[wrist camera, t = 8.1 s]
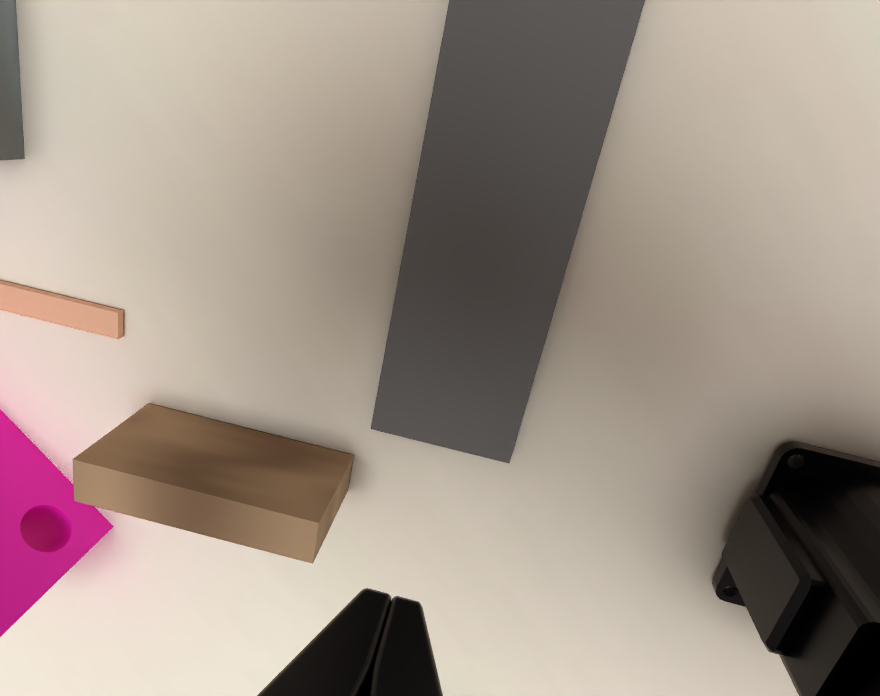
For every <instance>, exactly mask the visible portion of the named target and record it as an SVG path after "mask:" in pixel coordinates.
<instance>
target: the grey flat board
mask: <svg viewBox="0 0 880 696" xmlns="http://www.w3.org/2000/svg"><path fill="white" fill-rule="evenodd" d="M644 1H645V0H449V5H448V11H447V16H446V22H445V27H444V33H443V38H442V43H441V49H440V54H439V60H438V65H437V71H436V76H435V82H434V87H433V93H432V98H431V103H430V109H429V114H428V120H427V125H426V131H425V136H424V142H423V147H422V152H421V158H420V163H419V169H418V174H417V180H416V185H415V191H414V196H413V202H412V207H411V212H410V218H409V223H408V229H407V234H406V240H405V245H404V251H403V256H402V261H401V267H400V272H399V278H398V283H397V289H396V294H395V300H394V305H393V310H392V316H391V321H390V327H389V332H388V338H387V343H386V349H385V354H384V360H383V365H382V370H381V376H380V381H379V387H378V392H377V398H376V403H375V409H374V414H373V419H372V425H371V429H373V430H377V431H381V432H385V433H389V434H393V435H397V436H401V437H405V438H409V439H413V440H417V441H421V442H426V443H430V444H434V445H438V446H442V447H446V448H450V449H454V450H458V451H462V452H466V453H470V454H474V455H478V456H482V457H486V458H490V459H494V460H498V461H502V462H506V463H509V462H510V459H511V456H512V452H513V449H514V445H515V442H516V439H517V435H518V432H519V428H520V425H521V421H522V418H523V415H524V411H525V408H526V404H527V401H528V398H529V394H530V391H531V387H532V384H533V381H534V377H535V374H536V370H537V367H538V363H539V360H540V357H541V353H542V350H543V346H544V343H545V340H546V336H547V333H548V329H549V326H550V322H551V319H552V316H553V312H554V309H555V305H556V302H557V299H558V295H559V292H560V288H561V285H562V281H563V278H564V275H565V271H566V268H567V264H568V261H569V258H570V254H571V251H572V247H573V244H574V240H575V237H576V234H577V230H578V227H579V223H580V220H581V217H582V213H583V210H584V206H585V203H586V200H587V196H588V193H589V189H590V186H591V182H592V179H593V176H594V172H595V169H596V165H597V162H598V159H599V155H600V152H601V148H602V145H603V141H604V138H605V135H606V131H607V128H608V124H609V121H610V118H611V114H612V111H613V107H614V104H615V100H616V97H617V94H618V90H619V87H620V83H621V80H622V77H623V73H624V70H625V66H626V63H627V59H628V56H629V53H630V49H631V46H632V42H633V39H634V36H635V32H636V29H637V25H638V22H639V19H640V15H641V12H642V8H643V5H644Z"/></svg>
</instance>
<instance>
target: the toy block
mask: <svg viewBox="0 0 880 696" xmlns="http://www.w3.org/2000/svg"><path fill="white" fill-rule="evenodd" d="M112 527H113V526H112V525H111V524H110V523H109V522H108V521H107V519H106V518H105V517H104V516H103V515H102V514H101V513H100V512H99V511H98V510H97V509H96V508H95V507H94V506H92V505H88V504H84V503H80V502H76V501H74V485H73V484H72V483H71V482H70V481H69V480H68V479H67V478H66V477H65V476H64V475H63V474H62V473H61V472H60V471H59V470H58V469H57V468H56V467H55V466H54V465H53V463H52V462H51V461H50V460H49V459H48V458H47V457H46V456H45V455H44V454H43V453H42V452H41V451H40V450H39V449H38V448H37V447H36V446H35V445H34V444H33V443H32V442H31V441H30V440H29V439H28V438H27V437H26V436H25V434H24V433H23V432H22V431H21V430H20V429H19V428H18V427H17V426H16V425H15V424H14V423H13V422H12V421H11V420H10V419H9V418H8V417H7V416H6V415H5V414H4V413H3V412H2V411H1V410H0V637H1V636H2V635H3V634H4V633H5V632H6V631H7V630H8V629H9V628H10V627H11V626H12V625H13V624H14V623H15V622H16V621H17V620H18V619H19V618H20V617H21V616H22V615H23V614H24V613H25V612H26V611H27V610H28V609H29V608H30V607H31V606H32V605H33V604H35V603H36V602H37V601H38V600H39V599H40V598H41V597H42V596H43V595H44V594H45V593H46V592H47V591H48V590H49V589H50V588H51V587H52V586H53V585H54V584H55V583H56V582H57V581H58V580H59V579H60V578H61V577H62V576H63V575H64V574H65V573H66V572H67V571H68V570H69V569H70V568H71V567H72V566H73V565H74V564H76V563H77V562H78V561H79V560H80V559H81V558H82V557H83V556H84V555H85V554H86V553H87V552H88V551H89V550H90V549H91V548H92V547H93V546H94V545H95V544H96V543H97V542H98V541H99V540H100V539H101V538H102V537H103V536H104V535H105V534H106V533H107V532H108V531H109V530H110V529H111V528H112Z"/></svg>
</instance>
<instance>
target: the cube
mask: <svg viewBox="0 0 880 696" xmlns="http://www.w3.org/2000/svg"><path fill="white" fill-rule="evenodd" d="M13 159H25V157H24V139H23V121H22V103H21V86H20V68H19V50H18V32H17V15H16V0H0V160H13Z"/></svg>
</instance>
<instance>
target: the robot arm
mask: <svg viewBox="0 0 880 696" xmlns="http://www.w3.org/2000/svg"><path fill="white" fill-rule="evenodd" d="M793 455H799V457H798V459H797V460H795V461H793V462H788V459H789V458H790V457H791V456H793ZM722 556H723V560H722V562H721V564H720V566H719V568H718V570H717V572H716V574H715V576H714V578H713V582H712V585H713V588H714V590H715V593H716V595H717V596H718V597H719V598H720V599H721V600H723V601H726V602H730V603H734V604H737V605H741V606H745V607H747V609H748V612H749V614H750V616H751V618H752V620H753V622H754V624H755V626H756V629H757V631H758V633H759V635H760V637H761V639H762V641H763V643H764V645H765V646H766V648H767V650H768V651H769V652H771V653H775V654H779V655H780V657H781V659H782V661H783V664H784V666H785V668H786V670H787V672H788V674H789V676H790V678H791V680H792V682H793V684H794V686H795V688H796V690H797V692H798V694H799V696H880V462H877V461H873V460H869V459H865V458H861V457H857V456H852V455H848V454H844V453H840V452H836V451H832V450H828V449H823V448H819V447H815V446H811V445H807V444H803V443H799V442H788V443H784V444H783V445H781V446H780V447H779V448H778V449H777V450H776V452H775V454H774V456H773V458H772V460H771V462H770V464H769V466H768V468H767V470H766V472H765V474H764V476H763V478H762V480H761V482H760V484H759V486H758V489H757V491H756V493H755V494H754V495H753V496H751V497H750V498H749V499H748V501H747V503H746V505H745V507H744V509H743V511H742V513H741V515H740V517H739V519H738V521H737V523H736V525H735V527H734V529H733V531H732V533H731V535H730V538H729V540H728V542H727V544H726V546H725V548H724V550H723V552H722ZM728 585H733V586H732V587H730V588H725V587H726V586H728ZM257 696H443V694H442V690H441V685H440V681H439V677H438V673H437V668H436V664H435V660H434V655H433V651H432V647H431V643H430V638H429V634H428V630H427V625H426V621H425V617H424V613H423V608H422V606H421V604H420V603H419V602H417V601H414V600H410V599H406V598H402V597H399V596H396V597H394V598H393V599H392V601H391V596H390V595H389V594H387V593H384V592H380V591H376V590H372V589H368V588H366V589H363V590H362V591H361V592H360V593H359V594H358V595H357V596H356V597H355V598H354V599H353V600H352V601H351V602H350V603H349V604H348V605H347V606H346V607H345V608H344V609H343V610H342V611H341V612H340V613H339V614H338V615H337V616H336V617H335V618H334V619H333V620H332V621H331V622H330V623H329V624H328V625H327V626H326V627H325V628H324V629H323V630H322V631H321V632H320V633H319V634H318V635H317V636H316V637H315V638H314V639H313V640H312V641H311V642H310V643H309V644H308V645H307V646H306V647H305V648H304V649H303V650H302V651H301V652H300V653H299V654H298V655H297V656H296V657H295V658H294V659H293V660H292V661H291V662H290V663H289V664H288V665H287V666H286V667H285V668H284V669H283V670H282V671H281V672H280V673H279V674H278V675H277V676H276V677H275V678H274V679H273V680H272V681H271V682H270V683H269V684H268V685H267V686H266V687H265V688H264V689H263V690H262V691H261V692H260V693H259V694H258V695H257Z"/></svg>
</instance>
